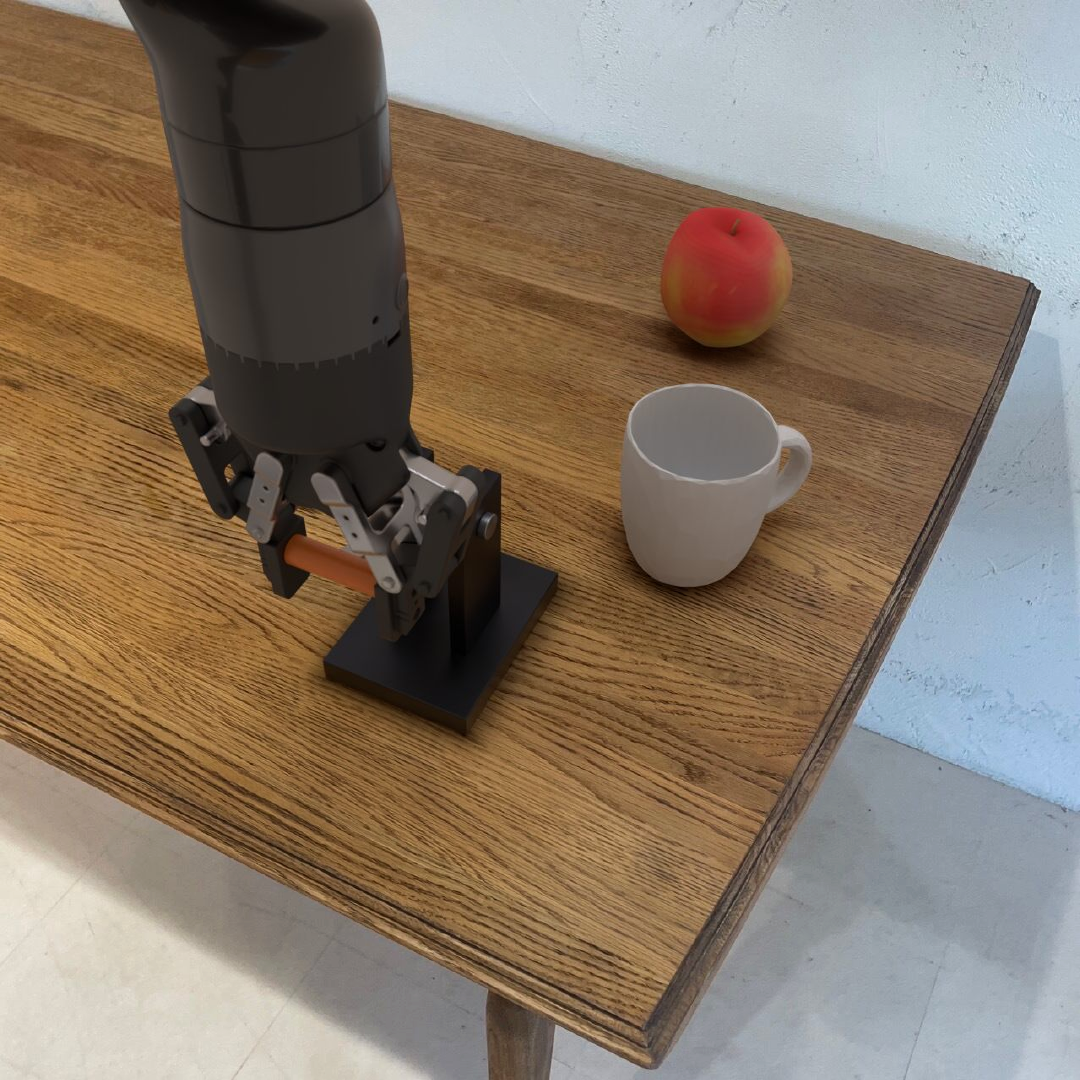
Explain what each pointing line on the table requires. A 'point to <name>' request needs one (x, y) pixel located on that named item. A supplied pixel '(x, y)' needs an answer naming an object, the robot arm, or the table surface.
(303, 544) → the switch
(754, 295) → the apple
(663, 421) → the mug
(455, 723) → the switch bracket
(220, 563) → the table surface
